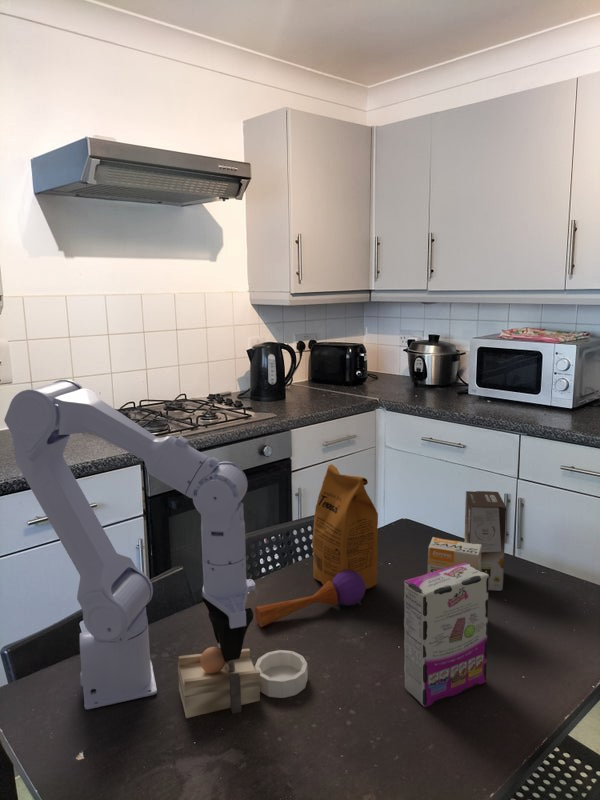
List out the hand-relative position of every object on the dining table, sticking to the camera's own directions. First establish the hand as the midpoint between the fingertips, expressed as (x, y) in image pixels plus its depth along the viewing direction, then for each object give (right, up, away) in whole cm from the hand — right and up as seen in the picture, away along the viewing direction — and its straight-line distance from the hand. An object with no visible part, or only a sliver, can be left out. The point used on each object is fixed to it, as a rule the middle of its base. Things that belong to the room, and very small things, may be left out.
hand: (227, 649), depth 84 cm
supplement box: (+35, -3, +20) cm, 41 cm away
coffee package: (+18, -1, +32) cm, 37 cm away
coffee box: (+44, 0, +33) cm, 55 cm away
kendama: (+12, -3, +22) cm, 25 cm away
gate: (0, -2, 0) cm, 2 cm away
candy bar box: (+30, -6, +2) cm, 31 cm away
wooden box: (-1, -7, +1) cm, 7 cm away
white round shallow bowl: (+7, -6, +4) cm, 10 cm away
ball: (-2, -1, 0) cm, 2 cm away
